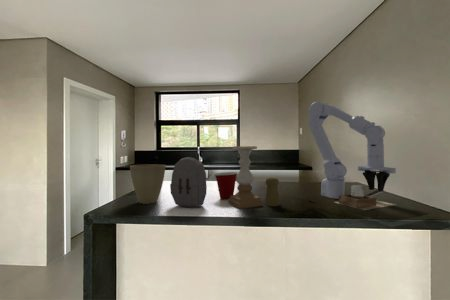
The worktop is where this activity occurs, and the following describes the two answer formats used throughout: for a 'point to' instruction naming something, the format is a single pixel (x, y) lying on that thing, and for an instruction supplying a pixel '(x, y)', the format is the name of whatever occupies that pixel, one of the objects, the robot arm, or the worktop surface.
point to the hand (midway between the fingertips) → (376, 190)
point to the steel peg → (357, 192)
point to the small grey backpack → (188, 183)
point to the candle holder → (244, 182)
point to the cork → (272, 192)
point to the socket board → (362, 202)
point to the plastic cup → (226, 184)
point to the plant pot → (147, 181)
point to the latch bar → (374, 193)
